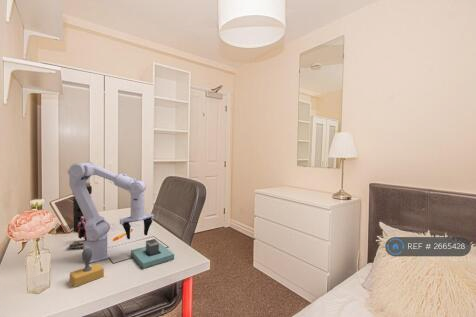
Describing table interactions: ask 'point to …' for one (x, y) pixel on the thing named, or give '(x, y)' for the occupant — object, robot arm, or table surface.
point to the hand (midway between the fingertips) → (137, 236)
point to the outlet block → (153, 260)
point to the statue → (81, 234)
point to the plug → (152, 247)
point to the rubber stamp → (86, 271)
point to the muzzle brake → (79, 210)
